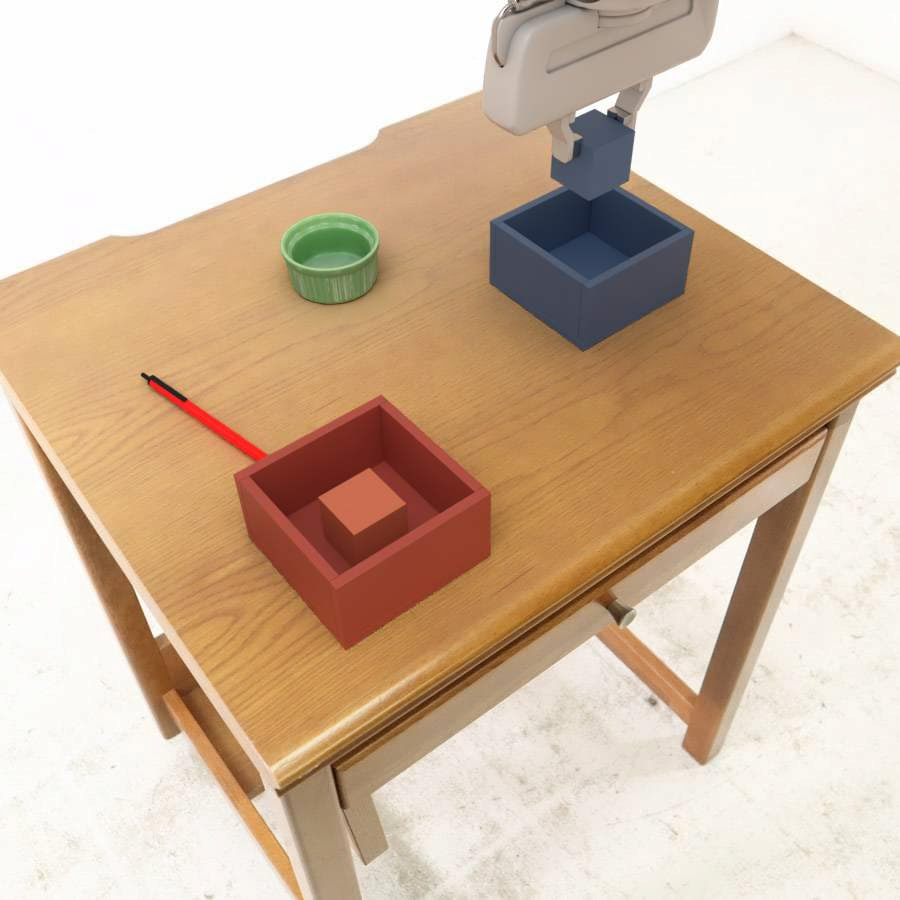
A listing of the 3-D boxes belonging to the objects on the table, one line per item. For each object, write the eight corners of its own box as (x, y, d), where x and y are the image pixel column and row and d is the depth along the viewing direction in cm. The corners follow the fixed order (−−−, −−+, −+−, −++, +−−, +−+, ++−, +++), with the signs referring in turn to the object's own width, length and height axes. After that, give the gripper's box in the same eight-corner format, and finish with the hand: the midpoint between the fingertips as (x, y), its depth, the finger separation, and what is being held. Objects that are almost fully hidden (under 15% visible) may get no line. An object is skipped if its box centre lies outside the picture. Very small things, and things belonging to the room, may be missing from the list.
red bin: (490, 555, 76) (491, 492, 71) (345, 650, 71) (335, 589, 66) (387, 457, 83) (381, 394, 78) (248, 536, 78) (232, 474, 73)
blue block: (629, 181, 83) (635, 130, 80) (588, 201, 81) (593, 150, 78) (590, 158, 86) (594, 108, 82) (549, 177, 84) (553, 126, 80)
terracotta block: (409, 543, 76) (406, 503, 73) (359, 575, 74) (354, 535, 71) (373, 507, 78) (369, 467, 75) (324, 537, 77) (317, 497, 73)
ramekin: (277, 262, 101) (270, 222, 98) (368, 243, 103) (365, 204, 100) (297, 318, 95) (291, 278, 92) (394, 297, 97) (391, 257, 94)
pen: (147, 375, 90) (144, 365, 89) (302, 482, 81) (300, 472, 80) (139, 381, 90) (136, 371, 89) (293, 489, 81) (291, 479, 80)
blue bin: (684, 293, 97) (695, 230, 92) (583, 351, 91) (588, 288, 86) (588, 232, 104) (593, 170, 99) (489, 282, 98) (489, 220, 93)
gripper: (527, 19, 65) (519, 211, 75) (747, -66, 74) (713, 116, 84) (462, -14, 68) (462, 174, 78) (679, -92, 77) (654, 86, 87)
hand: (593, 143), depth 81 cm, fingers closed on blue block, 4 cm apart
